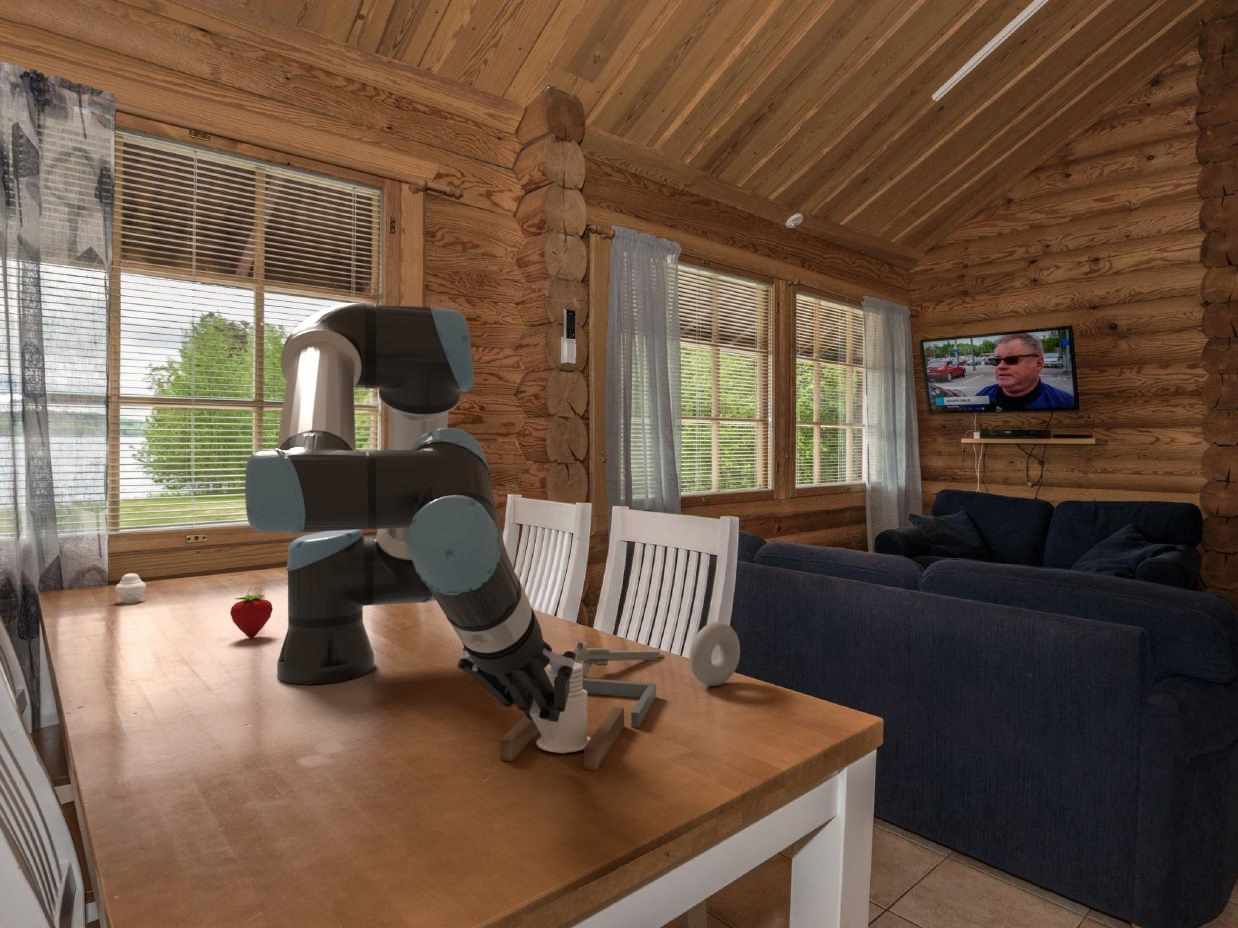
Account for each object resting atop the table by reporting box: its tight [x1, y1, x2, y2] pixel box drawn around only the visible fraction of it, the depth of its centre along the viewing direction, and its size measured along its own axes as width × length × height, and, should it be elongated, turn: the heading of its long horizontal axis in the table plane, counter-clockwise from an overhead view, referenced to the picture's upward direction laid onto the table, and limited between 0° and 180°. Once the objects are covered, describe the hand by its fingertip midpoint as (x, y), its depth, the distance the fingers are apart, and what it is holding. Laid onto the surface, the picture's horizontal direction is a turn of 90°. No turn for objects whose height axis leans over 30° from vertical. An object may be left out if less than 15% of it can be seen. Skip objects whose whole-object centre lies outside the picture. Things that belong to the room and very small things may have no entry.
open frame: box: [582, 677, 657, 729], centre depth 110 cm, size 16×12×2 cm
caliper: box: [573, 641, 665, 678], centre depth 128 cm, size 20×1×6 cm, turn 132°
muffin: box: [114, 572, 147, 604], centre depth 180 cm, size 6×6×7 cm
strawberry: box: [230, 587, 273, 639], centre depth 148 cm, size 6×8×10 cm
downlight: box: [536, 662, 592, 754], centre depth 96 cm, size 8×7×10 cm
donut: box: [689, 621, 741, 687], centre depth 119 cm, size 10×4×10 cm, turn 129°
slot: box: [500, 706, 625, 771], centre depth 97 cm, size 12×14×2 cm
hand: (551, 727), depth 91 cm, fingers closed
